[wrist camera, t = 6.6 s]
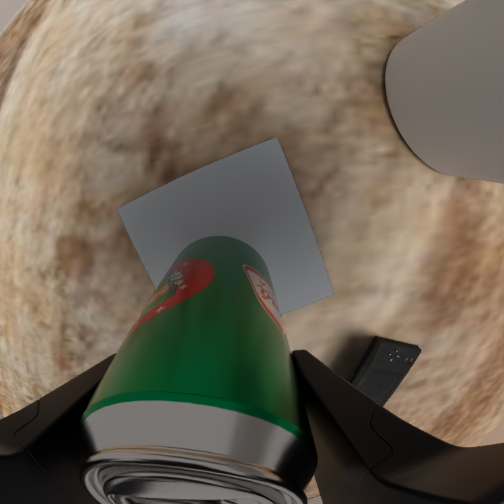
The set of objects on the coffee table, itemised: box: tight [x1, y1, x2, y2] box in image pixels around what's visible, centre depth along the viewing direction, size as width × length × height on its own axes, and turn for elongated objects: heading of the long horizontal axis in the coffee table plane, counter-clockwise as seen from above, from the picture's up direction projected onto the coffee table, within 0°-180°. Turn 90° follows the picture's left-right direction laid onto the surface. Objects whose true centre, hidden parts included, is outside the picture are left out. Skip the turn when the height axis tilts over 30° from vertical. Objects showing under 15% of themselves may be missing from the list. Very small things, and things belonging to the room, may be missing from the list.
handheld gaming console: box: [348, 336, 421, 407], centre depth 23 cm, size 12×7×10 cm
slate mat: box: [117, 137, 334, 315], centre depth 21 cm, size 12×12×1 cm
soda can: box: [78, 236, 318, 504], centre depth 9 cm, size 5×5×12 cm
